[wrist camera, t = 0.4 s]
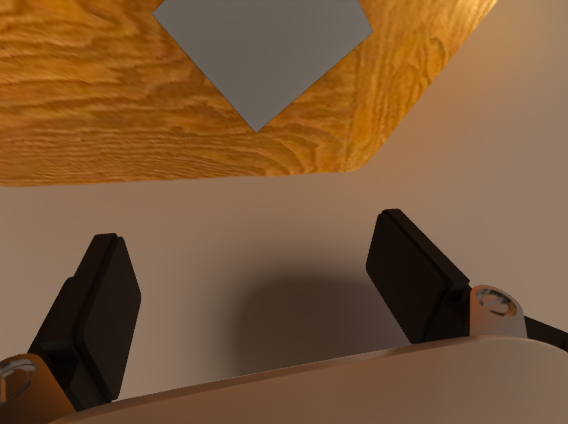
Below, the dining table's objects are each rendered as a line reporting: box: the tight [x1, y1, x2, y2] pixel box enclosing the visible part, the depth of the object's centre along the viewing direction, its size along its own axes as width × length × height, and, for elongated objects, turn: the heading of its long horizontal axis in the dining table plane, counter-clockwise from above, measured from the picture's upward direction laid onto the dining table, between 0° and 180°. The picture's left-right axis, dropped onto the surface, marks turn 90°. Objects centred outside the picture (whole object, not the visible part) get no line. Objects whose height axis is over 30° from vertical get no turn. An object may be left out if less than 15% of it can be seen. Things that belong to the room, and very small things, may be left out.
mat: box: [152, 0, 373, 132], centre depth 33 cm, size 18×16×1 cm
